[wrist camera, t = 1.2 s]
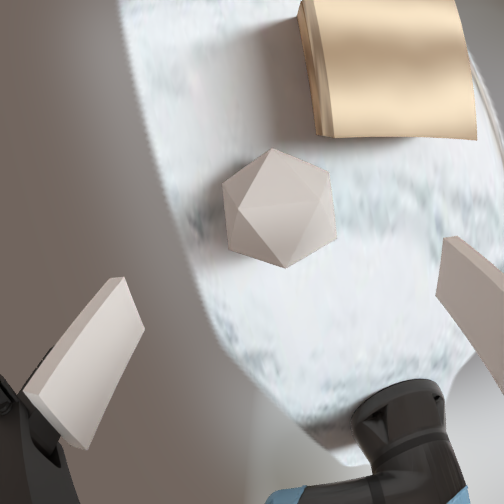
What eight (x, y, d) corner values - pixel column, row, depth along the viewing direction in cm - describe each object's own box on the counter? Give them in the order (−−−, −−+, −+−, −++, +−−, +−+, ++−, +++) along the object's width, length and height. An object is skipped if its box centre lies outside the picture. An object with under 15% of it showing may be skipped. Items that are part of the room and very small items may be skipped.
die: (209, 182, 26) (204, 282, 21) (255, 109, 20) (265, 218, 15) (286, 205, 30) (297, 297, 25) (342, 150, 23) (373, 251, 18)
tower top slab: (449, 135, 19) (477, 140, 15) (322, 135, 20) (334, 138, 16) (430, 13, 15) (454, 0, 11) (302, 0, 16) (308, -21, 12)
